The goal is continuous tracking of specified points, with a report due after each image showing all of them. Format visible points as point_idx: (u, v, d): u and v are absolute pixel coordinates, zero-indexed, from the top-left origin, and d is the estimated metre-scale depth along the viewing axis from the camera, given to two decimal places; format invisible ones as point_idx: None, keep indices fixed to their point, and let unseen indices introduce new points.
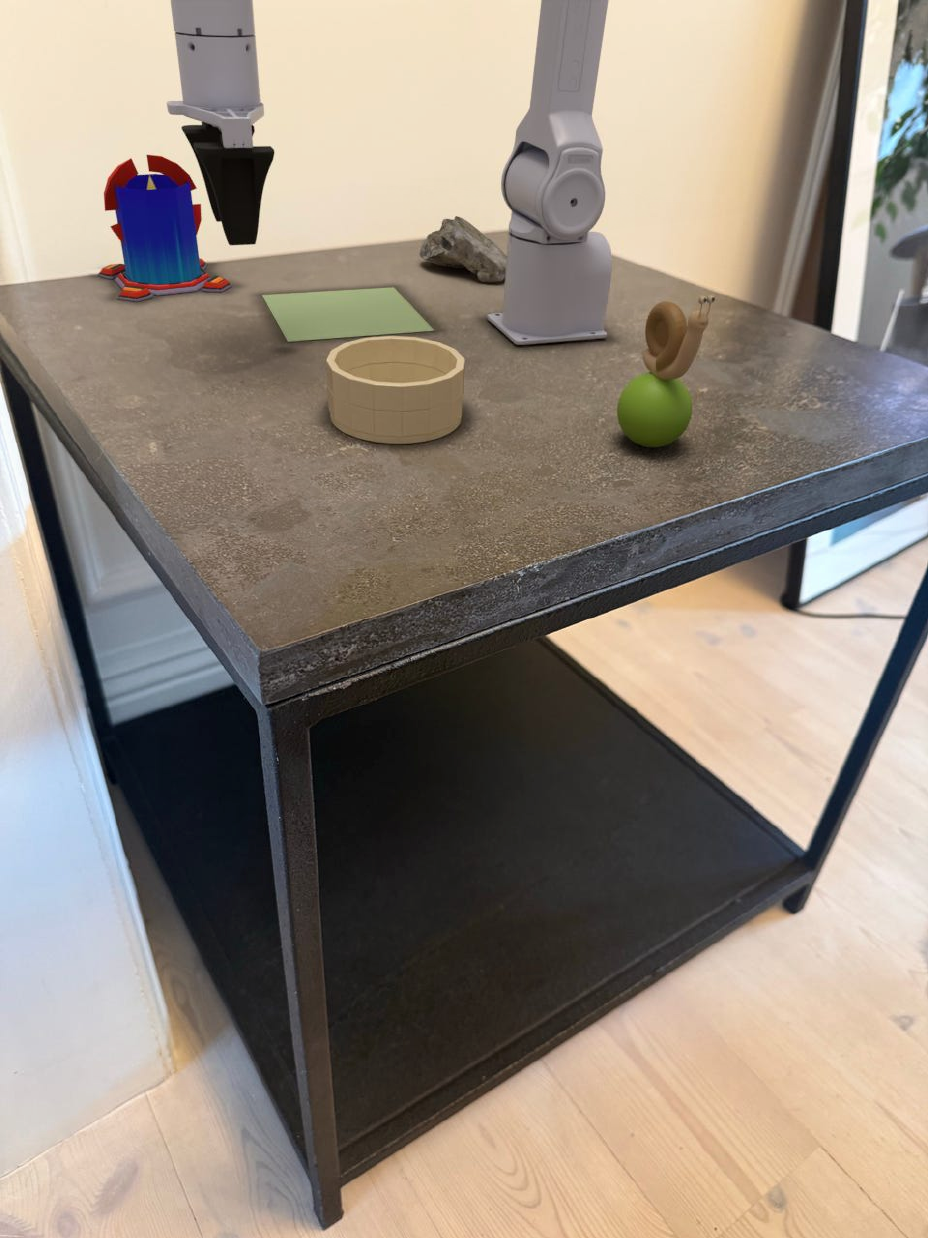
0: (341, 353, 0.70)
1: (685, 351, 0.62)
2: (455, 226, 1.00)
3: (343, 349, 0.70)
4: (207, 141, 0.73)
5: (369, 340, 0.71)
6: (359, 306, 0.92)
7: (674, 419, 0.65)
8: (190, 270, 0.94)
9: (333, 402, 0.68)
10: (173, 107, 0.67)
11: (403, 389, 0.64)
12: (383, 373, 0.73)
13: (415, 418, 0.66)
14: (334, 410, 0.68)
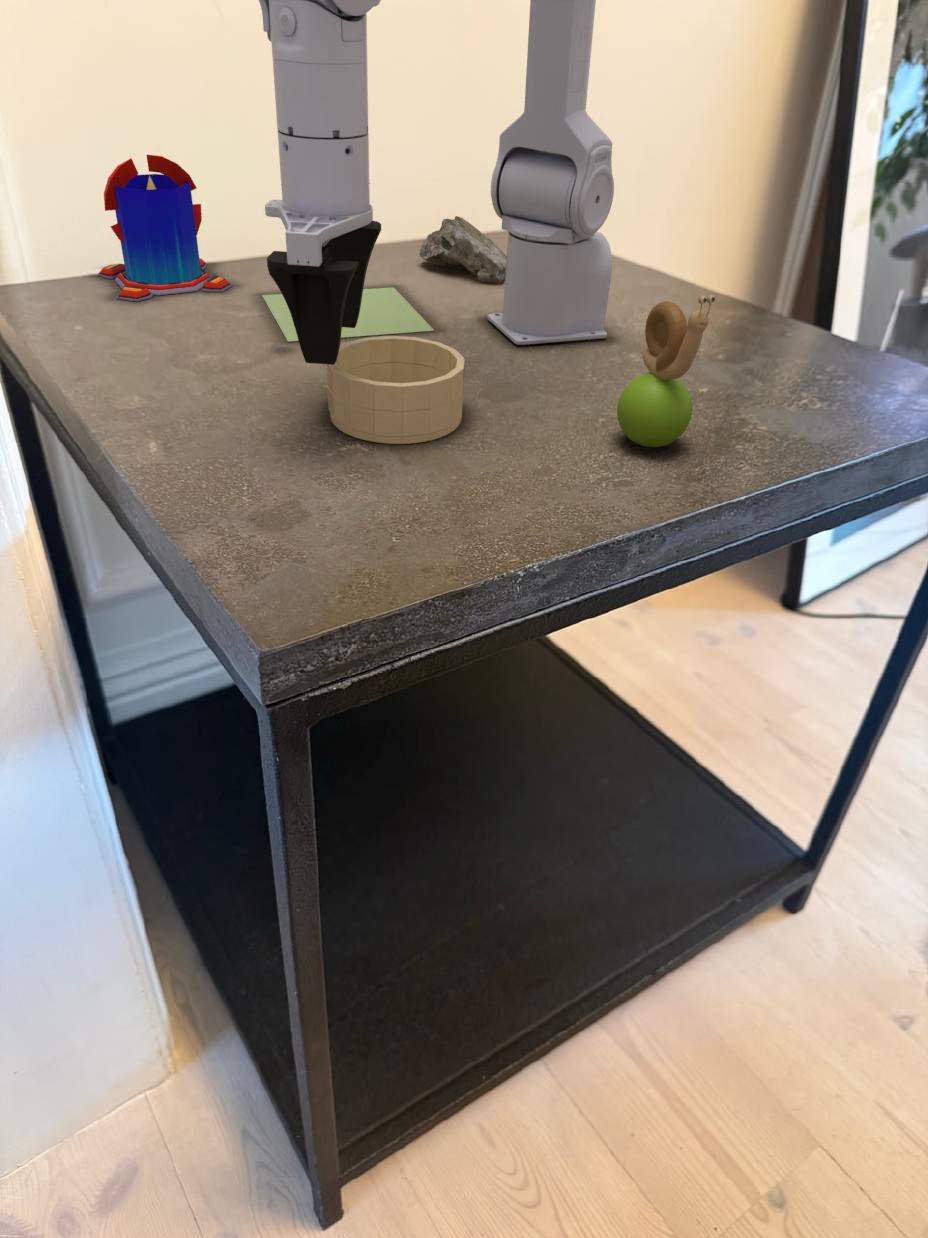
0: (341, 353, 0.70)
1: (685, 351, 0.62)
2: (455, 226, 1.00)
3: (343, 349, 0.70)
4: None
5: (369, 340, 0.71)
6: None
7: (674, 419, 0.65)
8: (190, 270, 0.94)
9: (333, 402, 0.68)
10: (268, 208, 0.60)
11: (403, 389, 0.64)
12: (383, 373, 0.73)
13: (415, 418, 0.66)
14: (334, 410, 0.68)
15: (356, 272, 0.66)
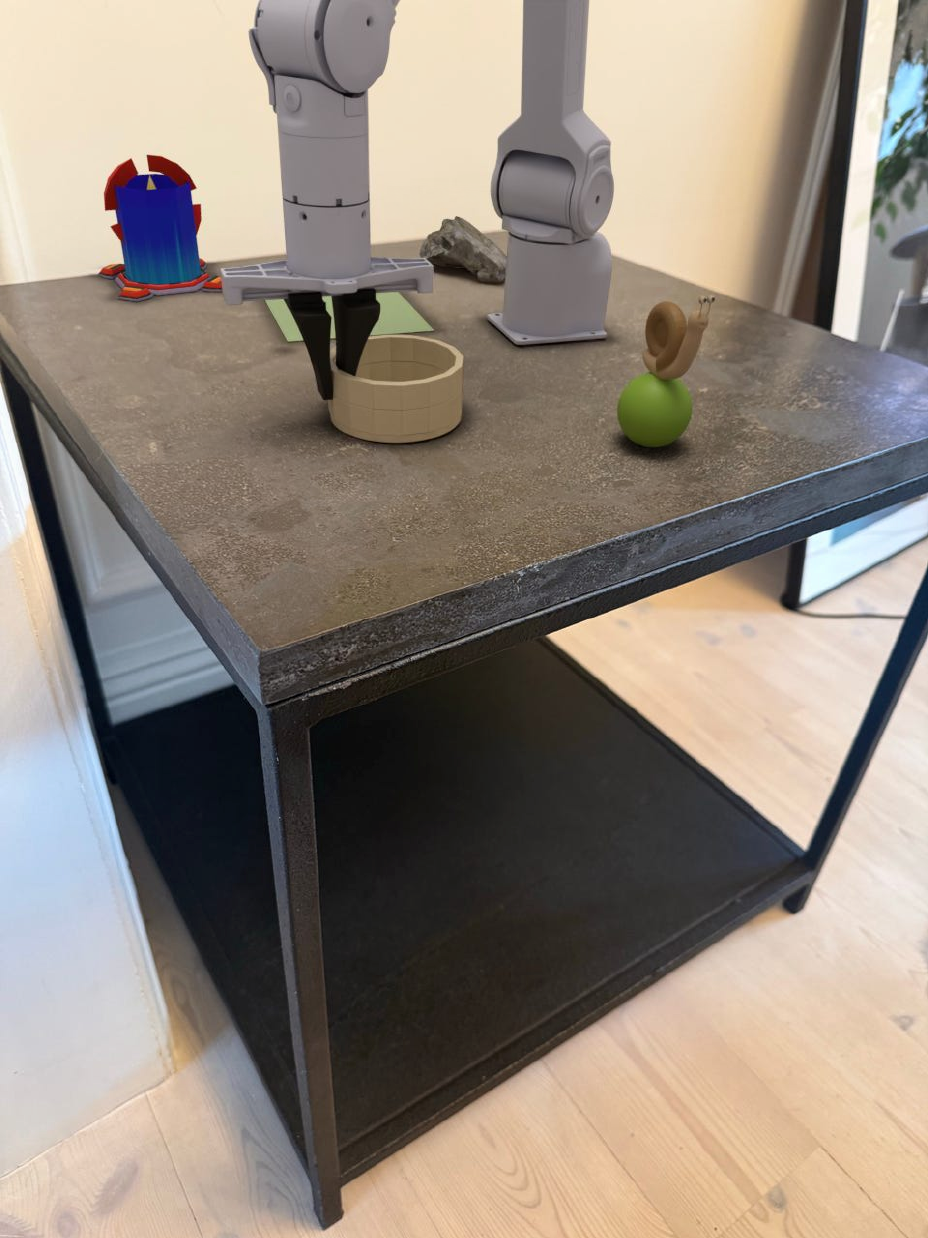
0: None
1: (685, 351, 0.62)
2: (455, 226, 1.00)
3: None
4: None
5: (368, 339, 0.71)
6: None
7: (674, 419, 0.65)
8: (190, 270, 0.94)
9: (332, 402, 0.68)
10: (355, 284, 0.60)
11: (402, 388, 0.64)
12: (383, 372, 0.73)
13: (414, 417, 0.66)
14: (334, 410, 0.68)
15: None
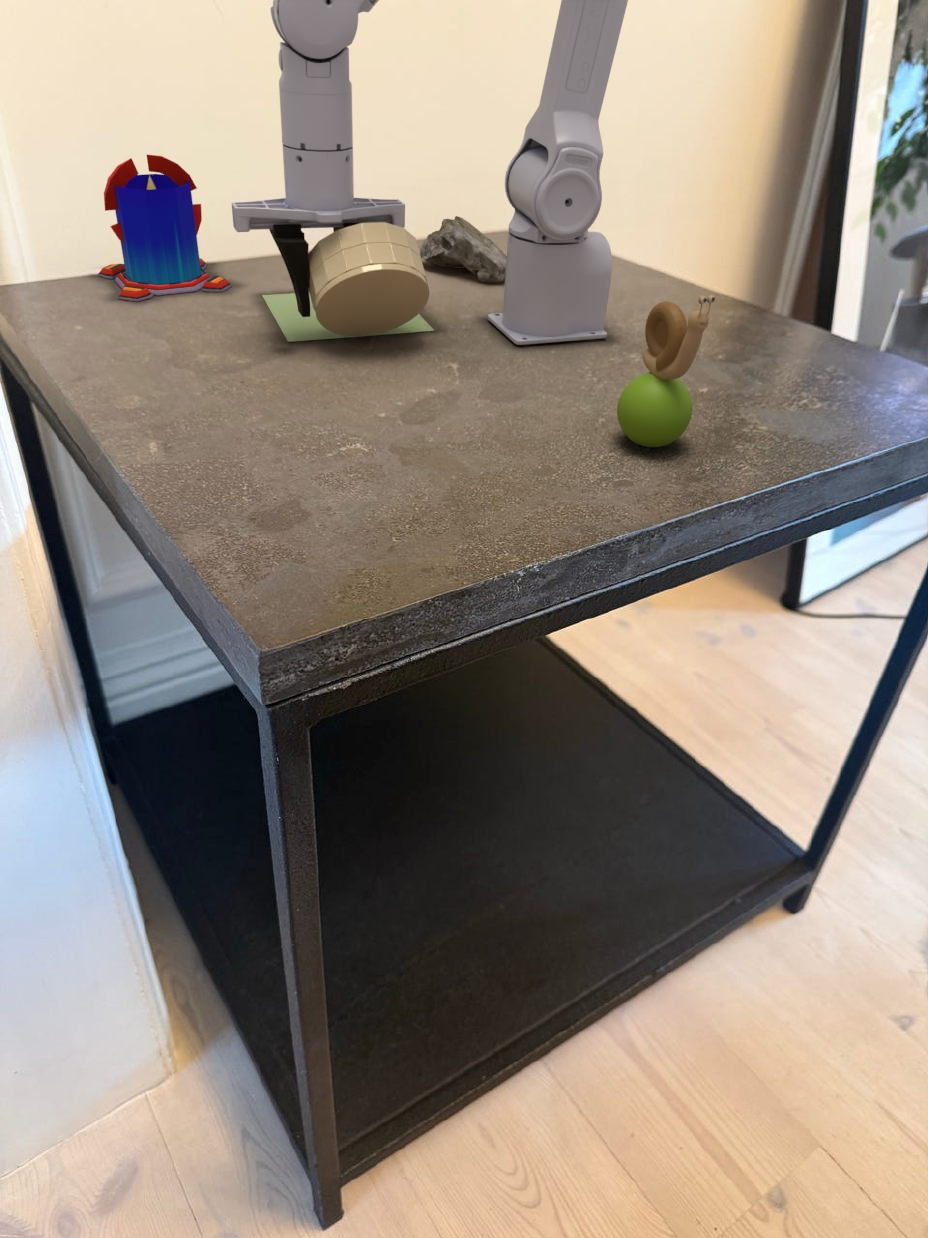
0: None
1: (685, 351, 0.62)
2: (455, 226, 1.00)
3: None
4: None
5: None
6: None
7: (674, 419, 0.65)
8: (190, 270, 0.94)
9: (310, 295, 0.80)
10: (340, 215, 0.75)
11: (339, 231, 0.76)
12: None
13: (355, 252, 0.76)
14: (311, 300, 0.80)
15: None
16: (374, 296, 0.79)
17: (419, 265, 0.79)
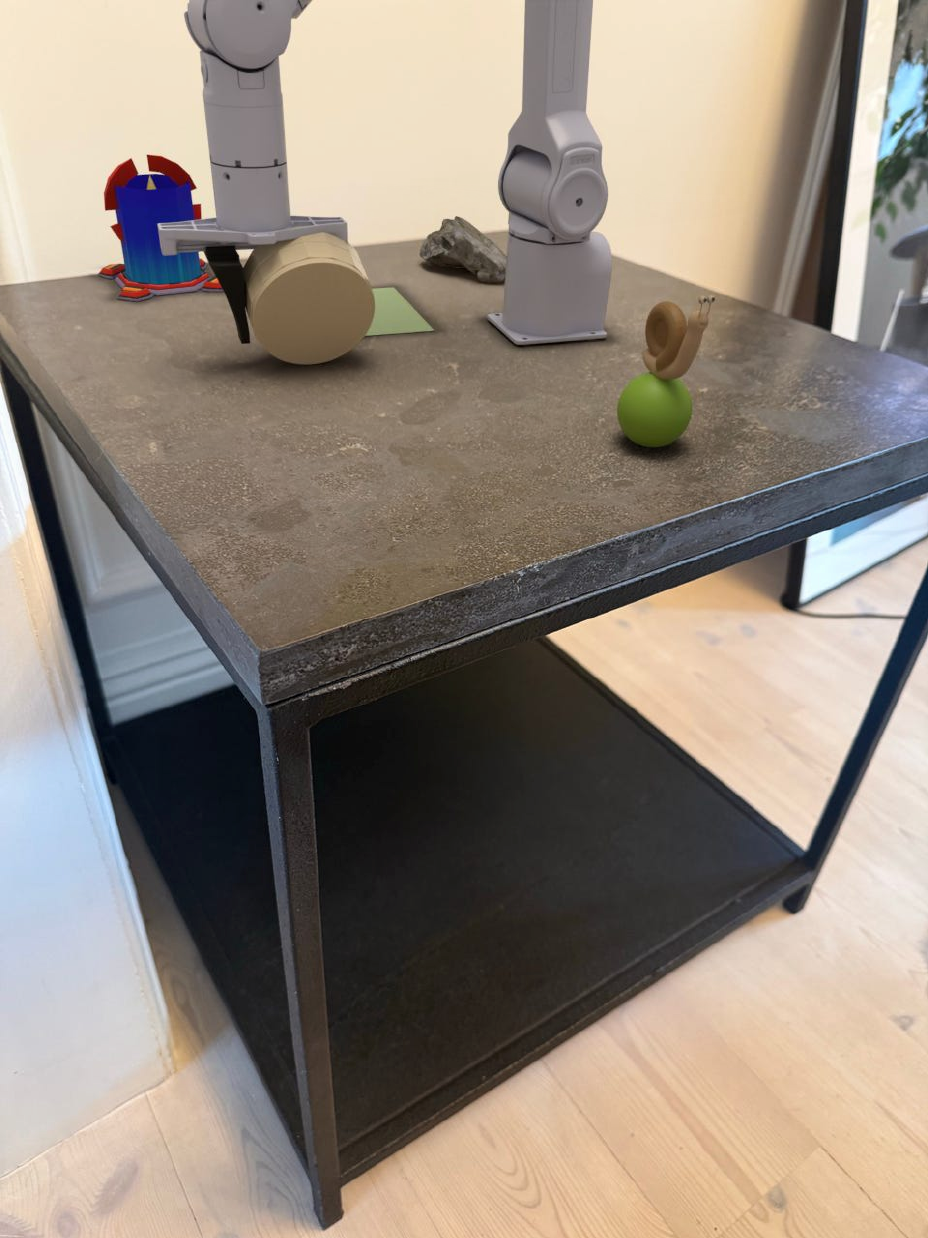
0: None
1: (685, 351, 0.62)
2: (455, 226, 1.00)
3: None
4: None
5: None
6: None
7: (674, 419, 0.65)
8: (190, 270, 0.94)
9: (247, 312, 0.74)
10: (274, 236, 0.69)
11: None
12: None
13: (291, 250, 0.71)
14: (248, 315, 0.74)
15: None
16: (315, 303, 0.73)
17: (361, 269, 0.74)
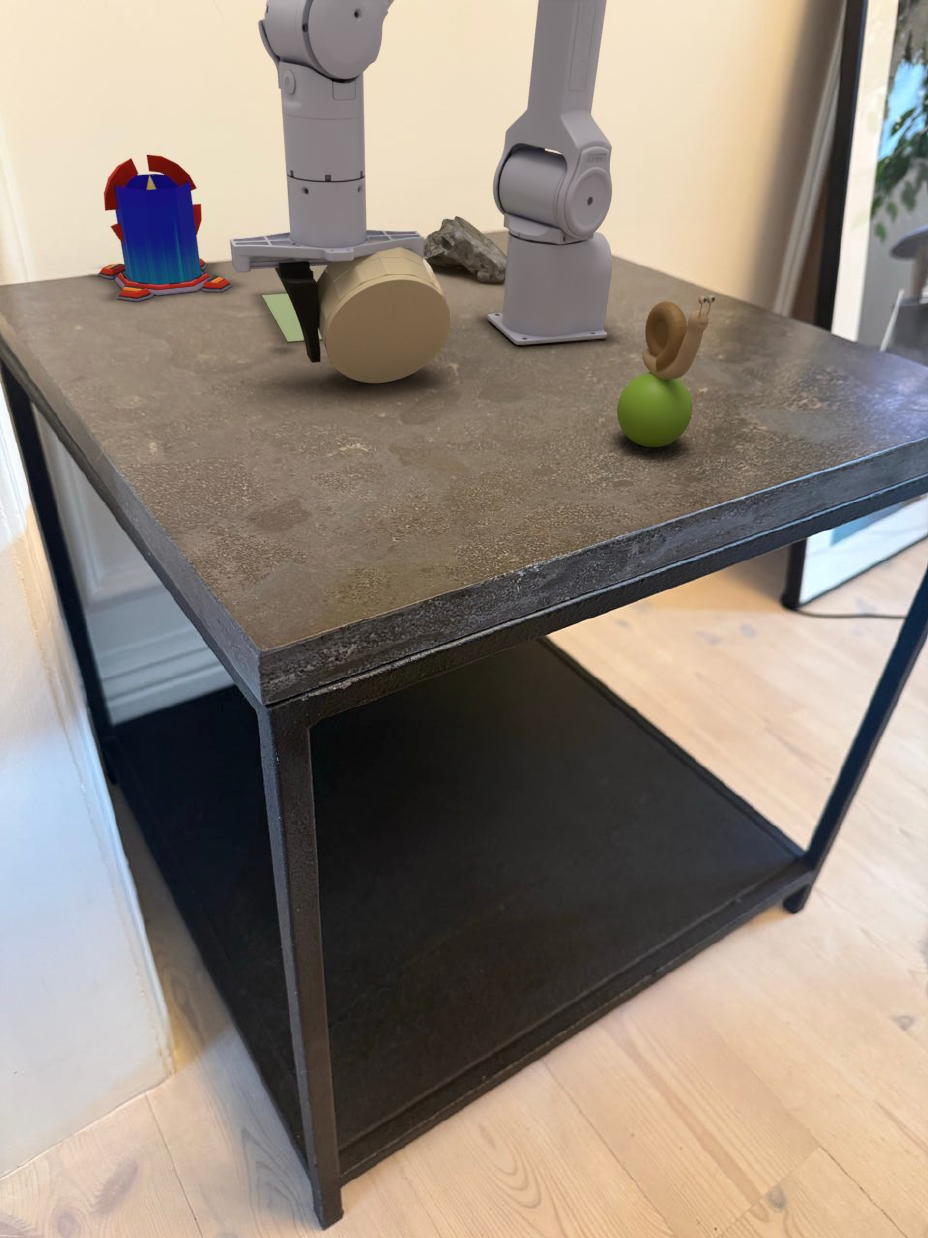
0: None
1: (685, 351, 0.62)
2: (455, 226, 1.00)
3: None
4: None
5: None
6: None
7: (674, 419, 0.65)
8: (190, 270, 0.94)
9: None
10: None
11: None
12: None
13: (368, 266, 0.68)
14: (320, 333, 0.71)
15: None
16: (391, 321, 0.71)
17: (438, 286, 0.71)
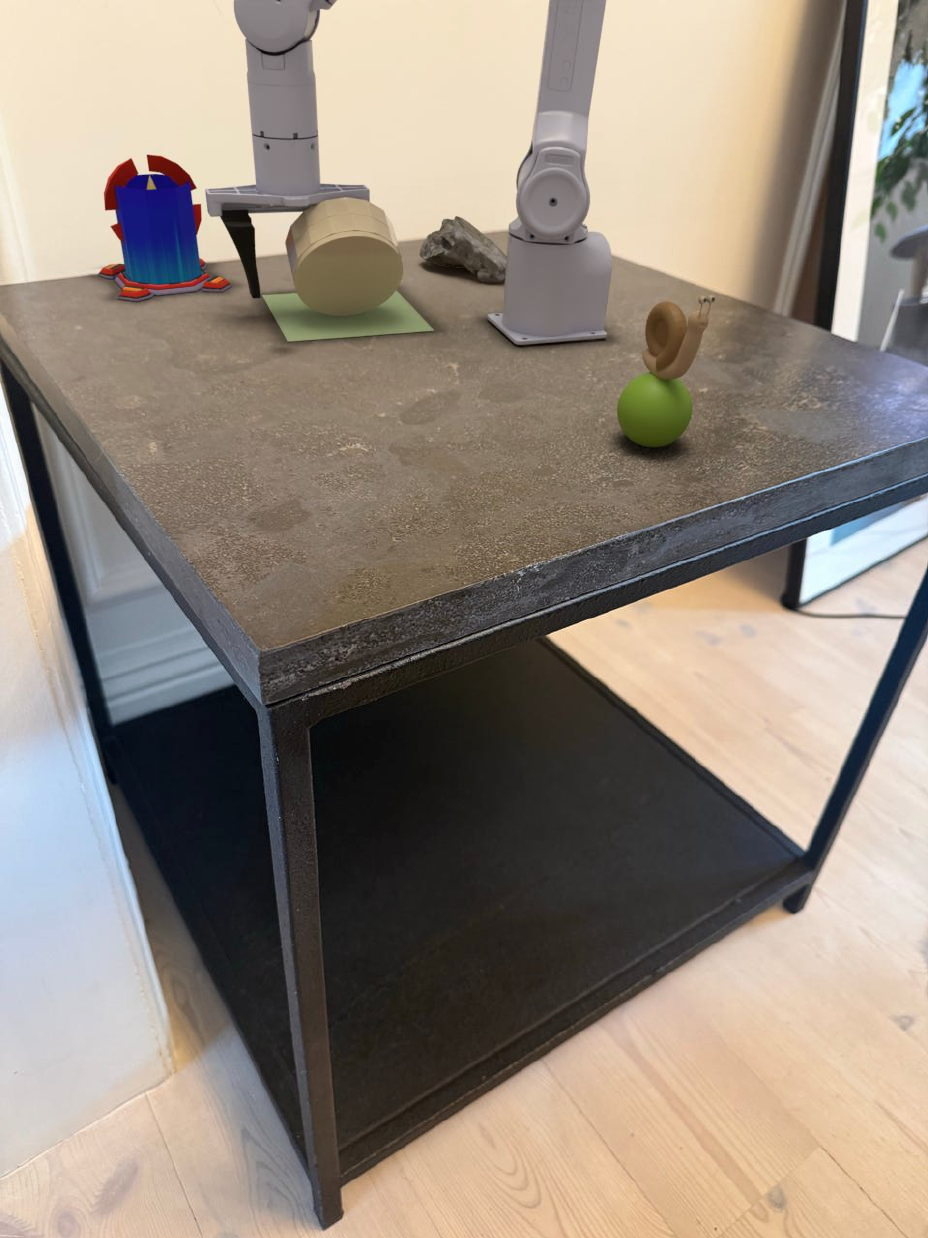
0: None
1: (685, 351, 0.62)
2: (455, 226, 1.00)
3: None
4: None
5: None
6: None
7: (674, 419, 0.65)
8: (190, 270, 0.94)
9: (290, 263, 0.84)
10: None
11: (324, 202, 0.81)
12: None
13: (339, 219, 0.81)
14: (291, 267, 0.84)
15: None
16: (352, 268, 0.84)
17: (396, 244, 0.84)
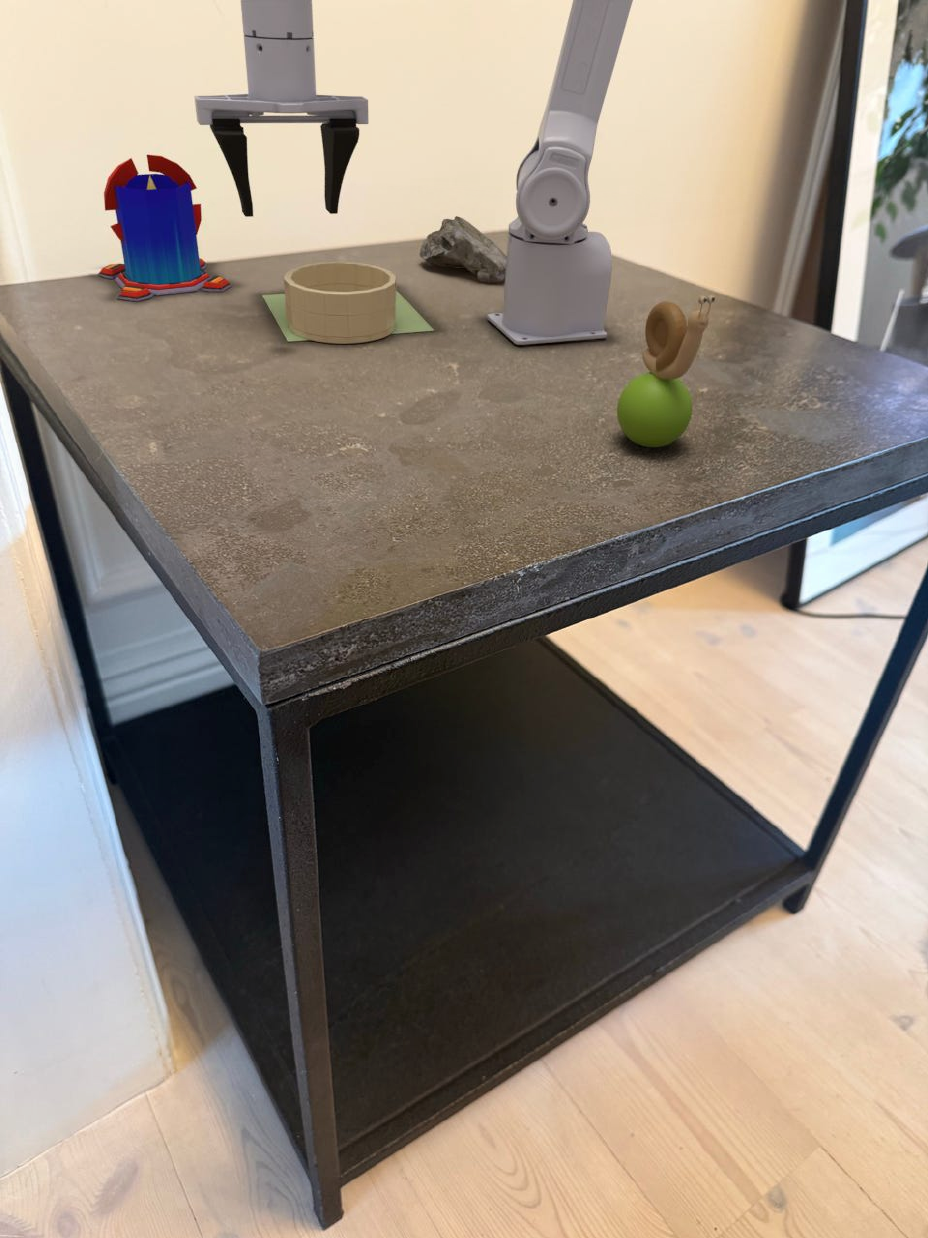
0: (306, 269, 0.87)
1: (685, 351, 0.62)
2: (455, 226, 1.00)
3: (308, 267, 0.87)
4: None
5: (335, 263, 0.88)
6: None
7: (674, 419, 0.65)
8: (190, 270, 0.94)
9: None
10: (302, 106, 0.76)
11: (325, 296, 0.80)
12: None
13: (336, 322, 0.82)
14: (286, 312, 0.85)
15: None
16: None
17: (392, 318, 0.85)
